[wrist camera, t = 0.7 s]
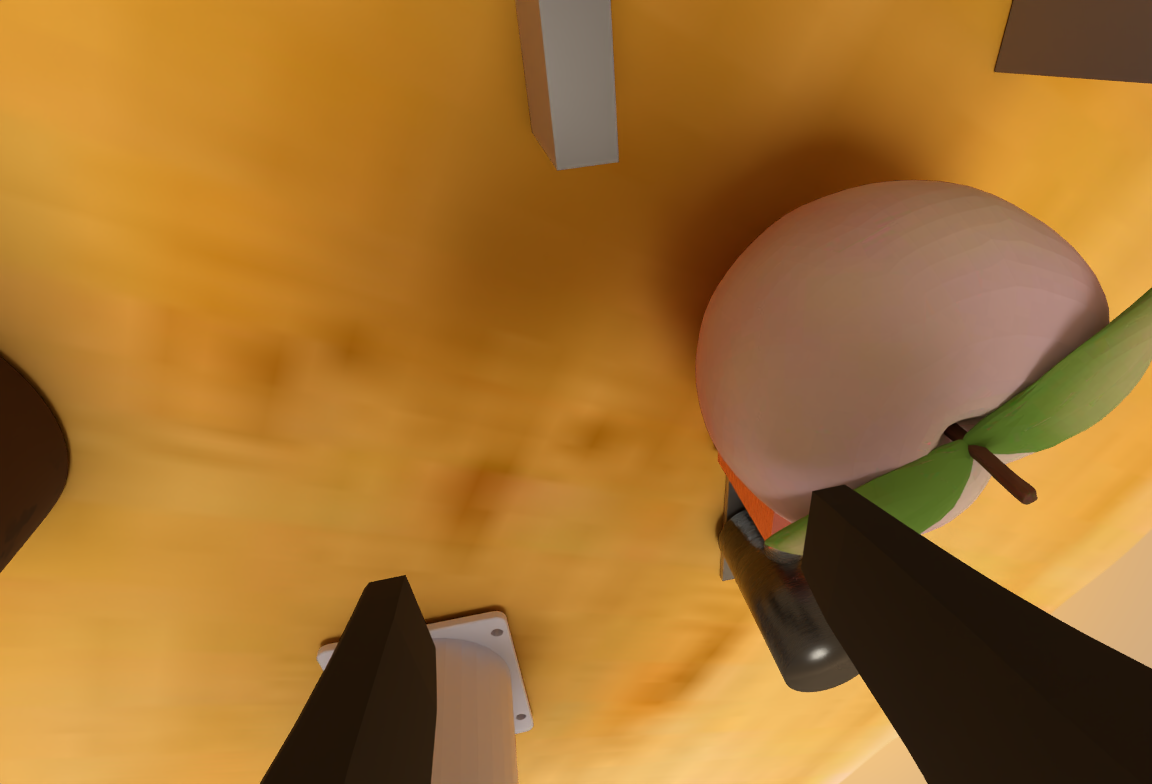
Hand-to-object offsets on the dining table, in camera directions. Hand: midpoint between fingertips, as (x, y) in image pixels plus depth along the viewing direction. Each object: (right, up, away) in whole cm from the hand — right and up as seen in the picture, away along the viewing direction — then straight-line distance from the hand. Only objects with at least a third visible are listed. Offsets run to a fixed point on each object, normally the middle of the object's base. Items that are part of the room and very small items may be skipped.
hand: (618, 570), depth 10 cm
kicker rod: (+7, -1, +13) cm, 14 cm away
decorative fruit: (+6, +7, +9) cm, 12 cm away
